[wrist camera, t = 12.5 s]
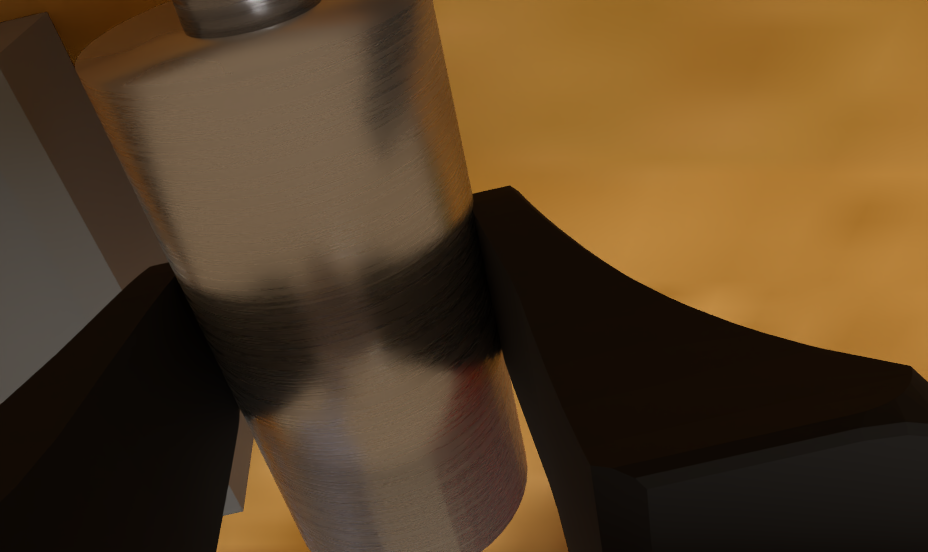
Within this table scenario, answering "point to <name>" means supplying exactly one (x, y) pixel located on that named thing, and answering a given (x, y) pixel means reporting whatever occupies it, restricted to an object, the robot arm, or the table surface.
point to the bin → (64, 215)
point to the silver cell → (326, 254)
